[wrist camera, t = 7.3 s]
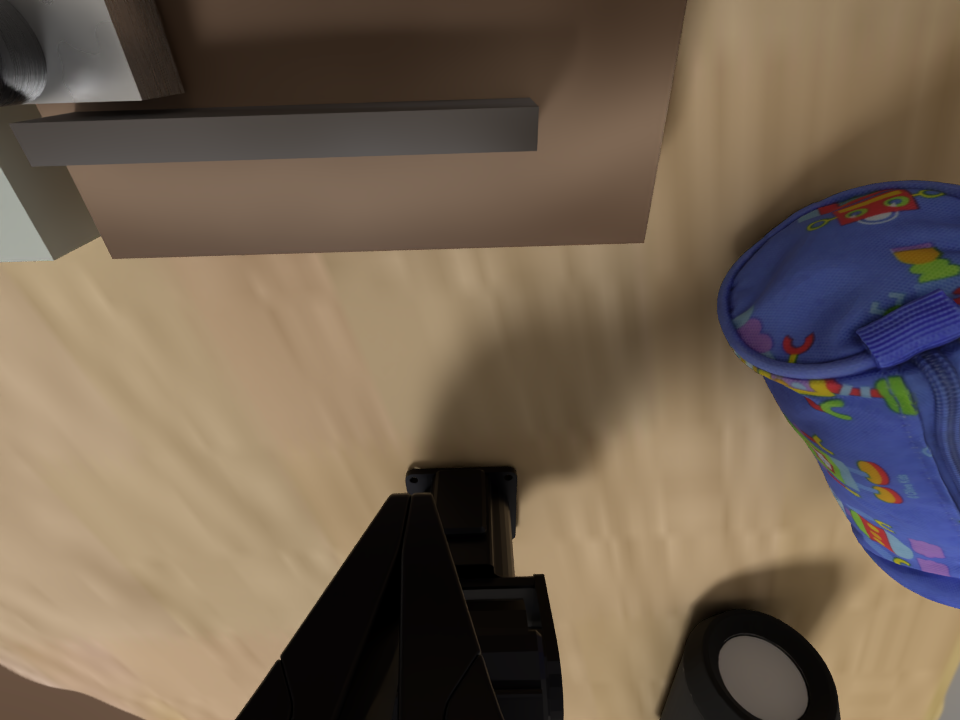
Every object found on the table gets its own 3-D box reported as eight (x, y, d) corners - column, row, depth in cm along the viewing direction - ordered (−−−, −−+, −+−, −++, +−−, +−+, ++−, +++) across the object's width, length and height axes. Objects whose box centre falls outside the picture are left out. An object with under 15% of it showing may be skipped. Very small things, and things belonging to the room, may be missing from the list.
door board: (614, 207, 19) (667, 270, 14) (174, 221, 19) (62, 288, 14) (676, -253, 12) (825, -471, 7) (-5, -229, 12) (-353, -426, 7)
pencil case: (984, 447, 27) (1192, 613, 19) (833, 510, 30) (959, 675, 22) (872, 136, 18) (1190, 213, 10) (669, 275, 21) (787, 417, 13)
